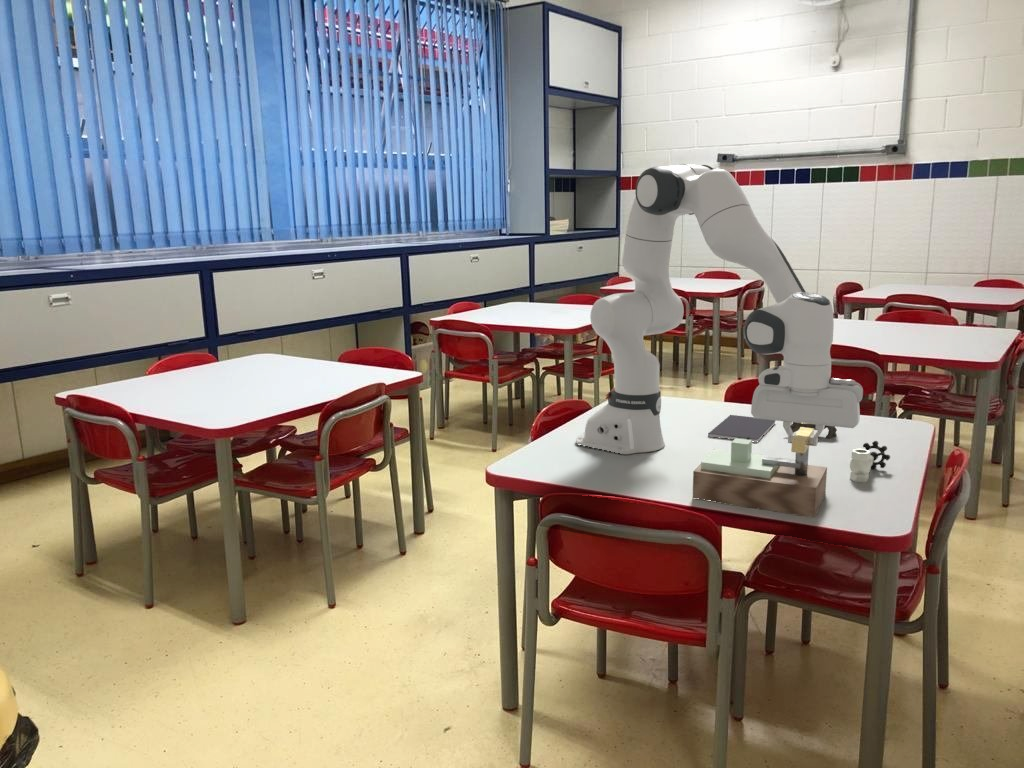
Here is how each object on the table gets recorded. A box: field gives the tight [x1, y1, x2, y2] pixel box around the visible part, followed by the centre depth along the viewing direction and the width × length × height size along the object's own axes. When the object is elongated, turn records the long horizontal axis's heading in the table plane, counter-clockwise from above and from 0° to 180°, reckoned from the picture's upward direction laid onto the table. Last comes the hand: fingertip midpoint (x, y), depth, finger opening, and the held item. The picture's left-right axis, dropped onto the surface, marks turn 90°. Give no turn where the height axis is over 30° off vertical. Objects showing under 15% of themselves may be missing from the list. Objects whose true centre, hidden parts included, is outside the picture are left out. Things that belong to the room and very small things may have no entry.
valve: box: [849, 440, 891, 483], centre depth 179 cm, size 7×7×12 cm
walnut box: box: [692, 463, 828, 518], centre depth 167 cm, size 24×14×6 cm, turn 61°
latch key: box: [762, 427, 815, 475], centre depth 163 cm, size 9×10×8 cm
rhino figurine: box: [790, 422, 838, 439], centre depth 210 cm, size 4×14×6 cm, turn 83°
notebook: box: [707, 414, 776, 443], centre depth 217 cm, size 13×2×21 cm
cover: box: [700, 438, 782, 478], centre depth 168 cm, size 14×10×6 cm
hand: (802, 444), depth 162 cm, fingers closed on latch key, 2 cm apart
